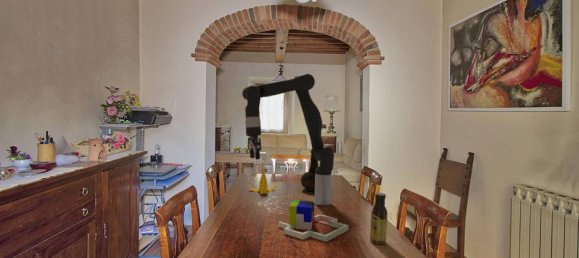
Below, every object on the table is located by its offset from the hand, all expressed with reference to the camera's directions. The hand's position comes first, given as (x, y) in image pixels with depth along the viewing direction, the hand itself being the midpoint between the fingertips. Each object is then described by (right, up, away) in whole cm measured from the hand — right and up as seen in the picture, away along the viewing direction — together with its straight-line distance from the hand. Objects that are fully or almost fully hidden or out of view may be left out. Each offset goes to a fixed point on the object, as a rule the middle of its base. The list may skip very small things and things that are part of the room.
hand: (255, 158), depth 160 cm
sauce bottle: (+53, -31, -31) cm, 68 cm away
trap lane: (+27, -30, -16) cm, 43 cm away
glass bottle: (+34, -27, +58) cm, 72 cm away
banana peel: (+2, -26, +50) cm, 57 cm away
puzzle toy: (+23, -30, -13) cm, 39 cm away
